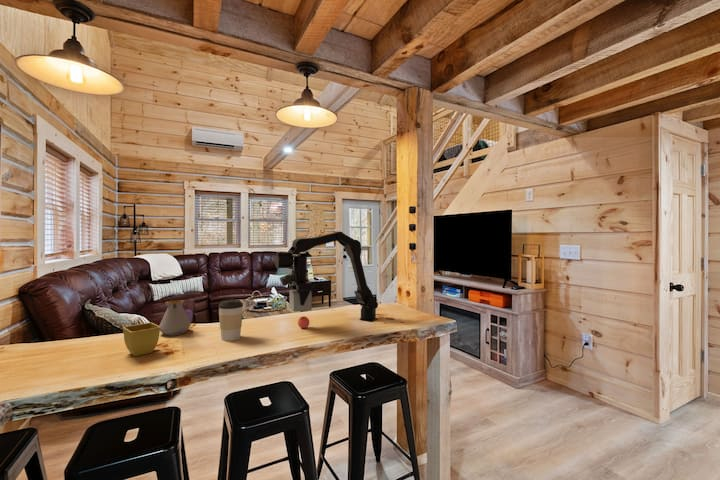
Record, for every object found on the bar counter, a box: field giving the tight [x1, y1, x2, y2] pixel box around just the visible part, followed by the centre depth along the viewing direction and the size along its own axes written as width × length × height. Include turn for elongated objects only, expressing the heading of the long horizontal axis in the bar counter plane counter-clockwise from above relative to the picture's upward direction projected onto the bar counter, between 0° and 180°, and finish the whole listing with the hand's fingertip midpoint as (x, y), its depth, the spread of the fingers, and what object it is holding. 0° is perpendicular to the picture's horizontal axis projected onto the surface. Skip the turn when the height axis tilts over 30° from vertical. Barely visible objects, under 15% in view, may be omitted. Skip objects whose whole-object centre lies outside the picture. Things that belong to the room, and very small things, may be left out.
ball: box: [297, 316, 310, 329], centre depth 144 cm, size 5×5×5 cm
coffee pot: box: [158, 299, 192, 337], centre depth 130 cm, size 21×12×15 cm, turn 29°
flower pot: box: [122, 322, 161, 357], centre depth 112 cm, size 9×9×9 cm
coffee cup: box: [218, 298, 244, 342], centre depth 129 cm, size 9×9×15 cm
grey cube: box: [288, 289, 313, 312], centre depth 143 cm, size 8×8×8 cm
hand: (299, 303), depth 143 cm, fingers closed on grey cube, 8 cm apart
